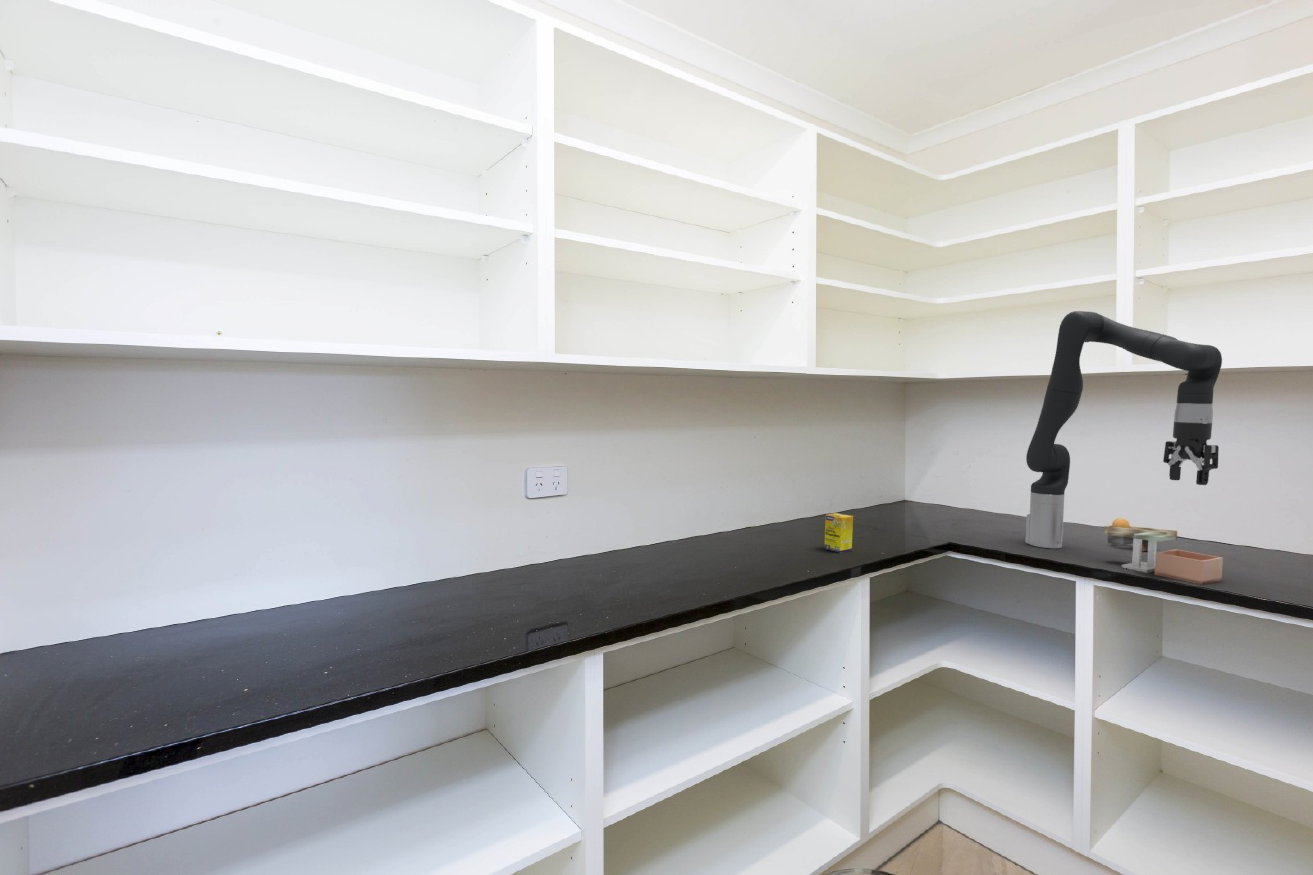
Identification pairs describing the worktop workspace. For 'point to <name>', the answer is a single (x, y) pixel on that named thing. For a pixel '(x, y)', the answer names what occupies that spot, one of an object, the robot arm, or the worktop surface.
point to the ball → (1120, 523)
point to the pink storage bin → (1189, 566)
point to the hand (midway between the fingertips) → (1187, 482)
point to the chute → (1126, 534)
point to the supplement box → (838, 532)
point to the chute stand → (1136, 558)
